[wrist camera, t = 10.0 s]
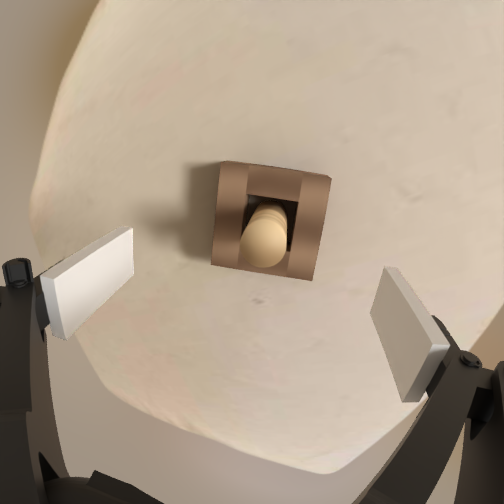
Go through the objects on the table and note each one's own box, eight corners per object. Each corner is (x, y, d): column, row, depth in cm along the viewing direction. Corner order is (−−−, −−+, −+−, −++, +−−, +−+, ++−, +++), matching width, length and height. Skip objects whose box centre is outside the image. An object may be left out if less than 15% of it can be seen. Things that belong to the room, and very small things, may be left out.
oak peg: (256, 197, 38) (242, 220, 26) (289, 202, 37) (289, 227, 26) (252, 228, 39) (237, 263, 28) (284, 233, 39) (282, 270, 27)
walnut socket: (227, 160, 36) (220, 162, 33) (327, 175, 36) (331, 178, 32) (218, 253, 40) (210, 264, 37) (309, 268, 40) (311, 280, 36)
